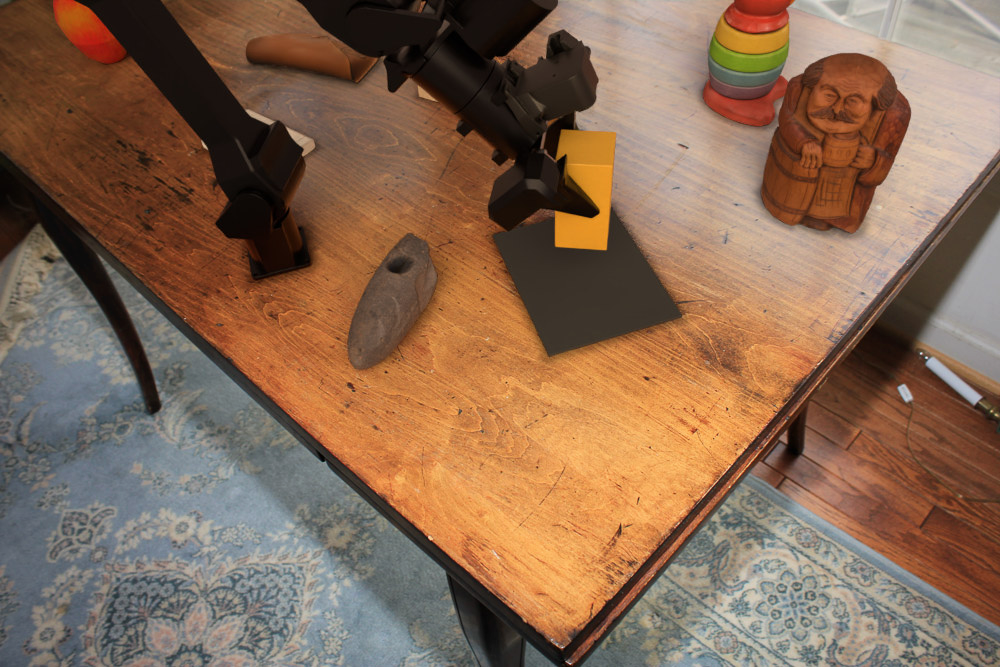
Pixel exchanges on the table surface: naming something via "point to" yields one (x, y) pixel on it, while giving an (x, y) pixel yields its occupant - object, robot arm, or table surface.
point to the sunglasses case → (309, 55)
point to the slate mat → (583, 286)
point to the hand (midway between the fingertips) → (598, 196)
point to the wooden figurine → (834, 142)
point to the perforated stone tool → (391, 302)
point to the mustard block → (587, 187)
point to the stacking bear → (748, 60)
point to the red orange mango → (87, 32)
